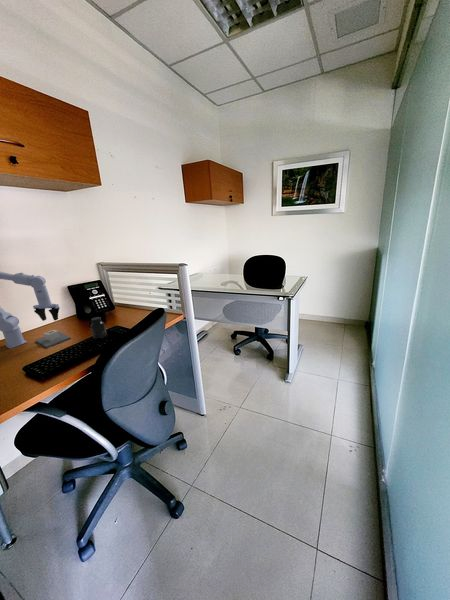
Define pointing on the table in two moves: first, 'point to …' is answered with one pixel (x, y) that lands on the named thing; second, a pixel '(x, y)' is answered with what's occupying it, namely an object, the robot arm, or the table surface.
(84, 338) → the table surface
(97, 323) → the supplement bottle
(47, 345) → the junction plate
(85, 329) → the table surface
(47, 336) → the collar
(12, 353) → the table surface
